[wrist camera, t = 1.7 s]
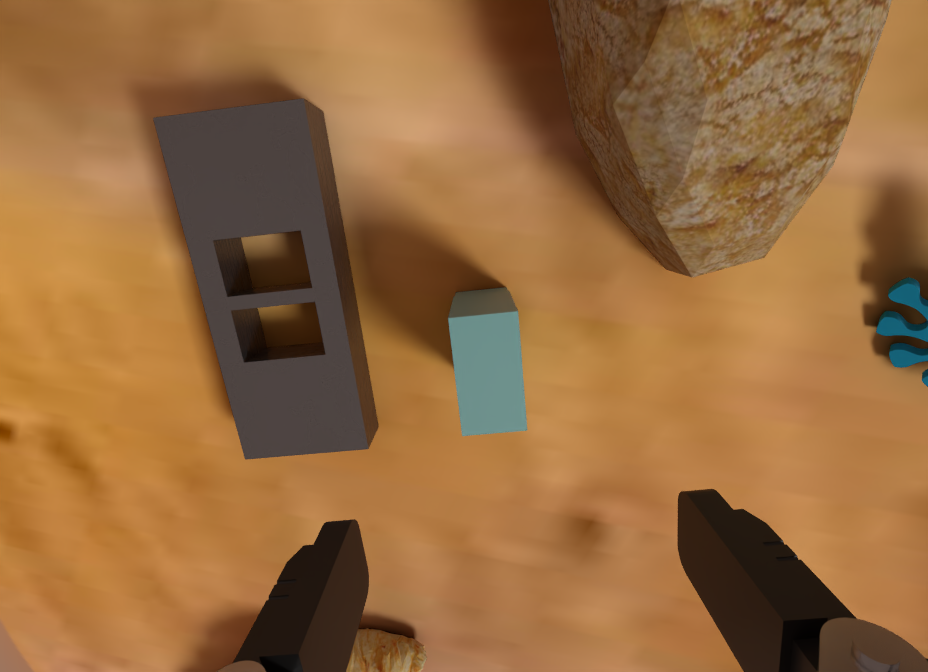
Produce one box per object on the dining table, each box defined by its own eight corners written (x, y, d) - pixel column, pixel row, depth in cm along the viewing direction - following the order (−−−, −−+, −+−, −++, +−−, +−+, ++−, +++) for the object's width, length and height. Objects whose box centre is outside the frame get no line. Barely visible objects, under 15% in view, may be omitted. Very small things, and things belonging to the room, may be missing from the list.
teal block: (455, 289, 28) (448, 318, 20) (505, 284, 28) (517, 311, 20) (465, 377, 29) (462, 435, 22) (513, 373, 29) (527, 430, 22)
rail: (189, 128, 26) (153, 117, 23) (323, 111, 25) (303, 98, 22) (266, 436, 31) (245, 459, 28) (378, 426, 31) (368, 449, 28)
